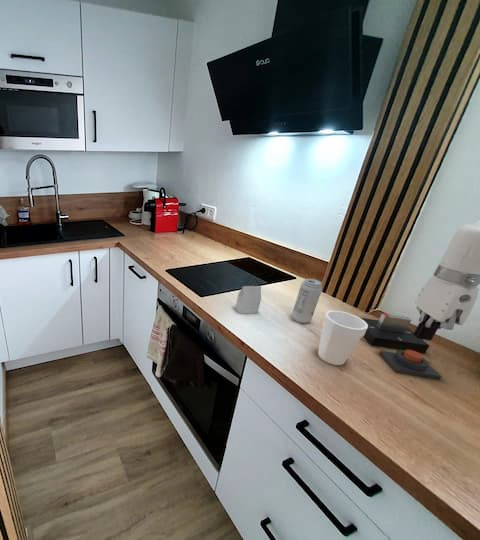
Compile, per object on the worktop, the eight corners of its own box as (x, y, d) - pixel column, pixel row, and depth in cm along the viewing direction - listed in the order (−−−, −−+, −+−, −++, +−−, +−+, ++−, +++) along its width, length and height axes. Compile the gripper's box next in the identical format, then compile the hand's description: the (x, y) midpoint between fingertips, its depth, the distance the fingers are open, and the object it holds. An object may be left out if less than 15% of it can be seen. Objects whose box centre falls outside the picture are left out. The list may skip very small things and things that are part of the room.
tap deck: (399, 330, 96) (403, 322, 95) (425, 353, 85) (430, 345, 84) (352, 324, 99) (355, 316, 98) (371, 345, 88) (375, 337, 87)
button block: (418, 359, 83) (423, 351, 81) (439, 379, 76) (445, 371, 74) (378, 353, 85) (382, 345, 84) (395, 372, 78) (400, 363, 76)
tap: (401, 330, 91) (408, 316, 89) (404, 333, 89) (411, 319, 87) (375, 326, 93) (382, 312, 90) (378, 329, 91) (385, 315, 89)
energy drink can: (312, 325, 97) (326, 286, 91) (293, 322, 99) (305, 283, 93) (307, 316, 103) (320, 279, 97) (289, 313, 104) (300, 276, 98)
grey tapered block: (257, 313, 104) (263, 288, 100) (239, 313, 103) (245, 289, 100) (252, 307, 107) (258, 284, 103) (235, 308, 107) (240, 284, 103)
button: (414, 355, 80) (417, 350, 80) (423, 364, 77) (426, 359, 76) (399, 353, 81) (402, 348, 80) (408, 361, 78) (410, 356, 77)
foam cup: (356, 361, 81) (373, 322, 76) (343, 373, 77) (360, 334, 71) (320, 343, 89) (333, 307, 83) (305, 354, 84) (319, 316, 78)
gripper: (506, 291, 62) (462, 358, 69) (450, 266, 75) (418, 324, 82) (463, 286, 63) (425, 352, 70) (417, 262, 76) (388, 320, 84)
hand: (421, 337), depth 76 cm, fingers closed
